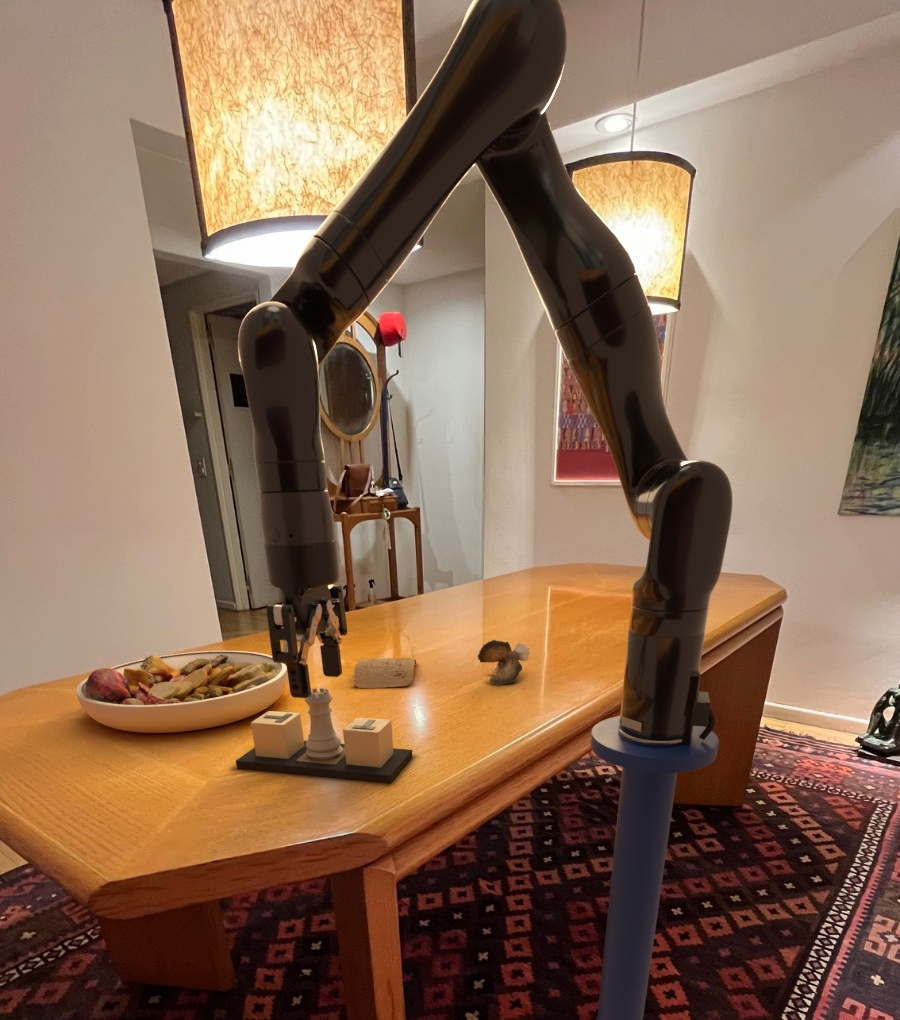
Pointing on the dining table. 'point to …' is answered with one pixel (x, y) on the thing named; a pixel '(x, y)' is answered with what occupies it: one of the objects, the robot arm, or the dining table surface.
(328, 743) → the rook chess piece
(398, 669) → the clay tablet
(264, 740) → the tile
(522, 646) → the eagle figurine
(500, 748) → the dining table surface
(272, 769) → the word mat
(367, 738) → the tile
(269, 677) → the bowl
